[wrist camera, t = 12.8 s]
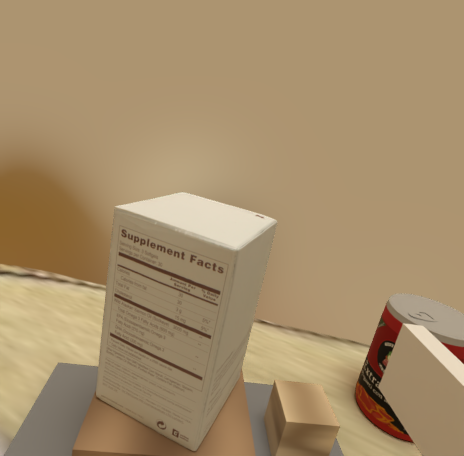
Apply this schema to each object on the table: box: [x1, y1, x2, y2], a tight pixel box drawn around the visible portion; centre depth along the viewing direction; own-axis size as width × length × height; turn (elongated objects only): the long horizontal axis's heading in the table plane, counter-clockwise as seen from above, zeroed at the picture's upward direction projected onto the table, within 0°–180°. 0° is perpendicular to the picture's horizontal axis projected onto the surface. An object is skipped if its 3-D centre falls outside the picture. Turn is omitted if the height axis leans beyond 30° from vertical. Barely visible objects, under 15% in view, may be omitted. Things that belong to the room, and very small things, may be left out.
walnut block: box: [72, 369, 256, 456], centre depth 24 cm, size 10×10×5 cm
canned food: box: [356, 294, 464, 442], centre depth 32 cm, size 8×8×11 cm
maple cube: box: [264, 380, 340, 456], centre depth 27 cm, size 4×4×4 cm
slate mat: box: [4, 363, 343, 456], centre depth 25 cm, size 24×14×1 cm, turn 95°
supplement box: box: [96, 192, 277, 451], centre depth 21 cm, size 7×7×13 cm
